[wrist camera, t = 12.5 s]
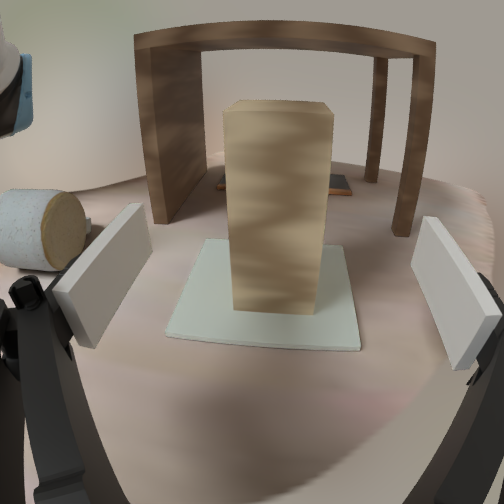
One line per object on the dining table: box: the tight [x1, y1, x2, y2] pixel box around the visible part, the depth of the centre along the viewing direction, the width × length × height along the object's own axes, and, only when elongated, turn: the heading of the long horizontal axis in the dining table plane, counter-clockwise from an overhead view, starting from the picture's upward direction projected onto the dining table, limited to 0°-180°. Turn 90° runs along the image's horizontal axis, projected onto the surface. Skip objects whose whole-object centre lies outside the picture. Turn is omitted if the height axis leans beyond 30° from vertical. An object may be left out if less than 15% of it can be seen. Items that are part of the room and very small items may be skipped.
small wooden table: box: [134, 20, 436, 237], centre depth 31 cm, size 25×16×18 cm, turn 83°
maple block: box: [223, 100, 334, 315], centre depth 19 cm, size 5×5×12 cm
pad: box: [165, 238, 361, 351], centre depth 22 cm, size 12×11×1 cm
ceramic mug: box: [0, 189, 91, 271], centre depth 25 cm, size 10×8×7 cm
